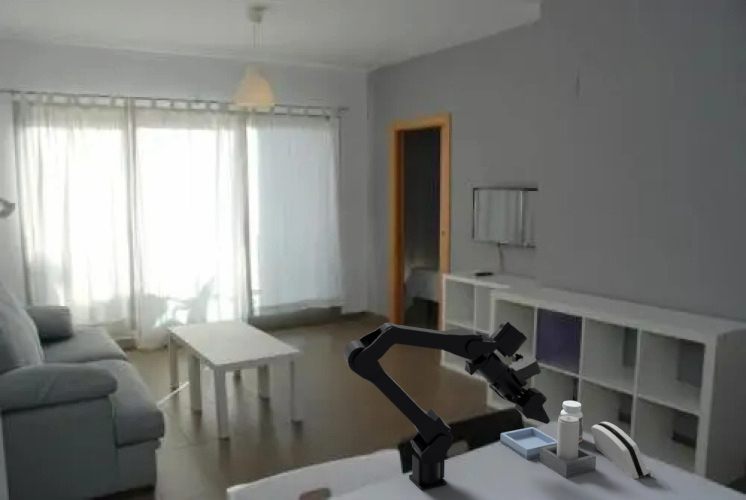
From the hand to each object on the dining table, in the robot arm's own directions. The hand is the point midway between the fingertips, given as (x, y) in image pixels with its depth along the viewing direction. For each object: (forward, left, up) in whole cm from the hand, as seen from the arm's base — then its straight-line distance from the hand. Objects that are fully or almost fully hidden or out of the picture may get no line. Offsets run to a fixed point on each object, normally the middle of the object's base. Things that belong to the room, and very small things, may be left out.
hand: (538, 414), depth 136 cm
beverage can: (+8, -2, -14) cm, 16 cm away
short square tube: (+8, -2, -13) cm, 15 cm away
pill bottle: (+20, +10, -14) cm, 26 cm away
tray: (+7, +10, -13) cm, 18 cm away
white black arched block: (+21, -5, -14) cm, 25 cm away
